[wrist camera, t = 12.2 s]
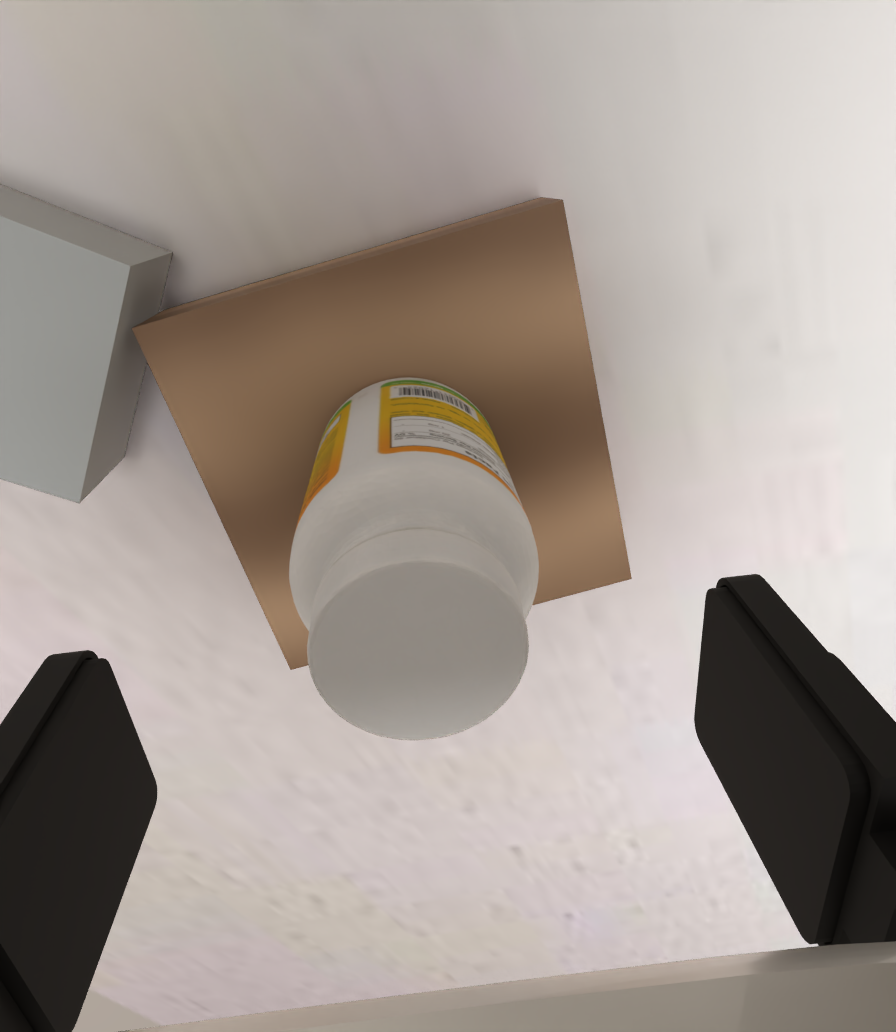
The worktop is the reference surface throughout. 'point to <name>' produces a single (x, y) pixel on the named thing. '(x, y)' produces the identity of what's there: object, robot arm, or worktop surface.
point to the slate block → (69, 343)
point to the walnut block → (388, 355)
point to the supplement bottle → (413, 564)
